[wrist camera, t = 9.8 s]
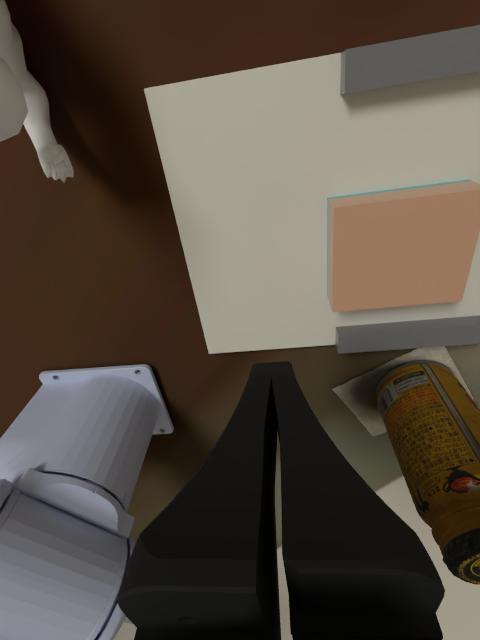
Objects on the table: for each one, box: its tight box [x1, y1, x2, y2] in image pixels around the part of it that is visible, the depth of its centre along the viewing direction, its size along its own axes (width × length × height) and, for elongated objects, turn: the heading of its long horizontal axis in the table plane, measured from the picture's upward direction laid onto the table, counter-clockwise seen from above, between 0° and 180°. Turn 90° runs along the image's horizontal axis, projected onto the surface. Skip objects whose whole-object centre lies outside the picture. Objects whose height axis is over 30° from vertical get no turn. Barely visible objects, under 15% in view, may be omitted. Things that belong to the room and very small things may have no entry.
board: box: [144, 25, 480, 354], centre depth 18 cm, size 18×16×2 cm
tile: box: [327, 180, 480, 312], centre depth 18 cm, size 2×6×7 cm
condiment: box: [332, 346, 480, 584], centre depth 21 cm, size 7×8×12 cm
